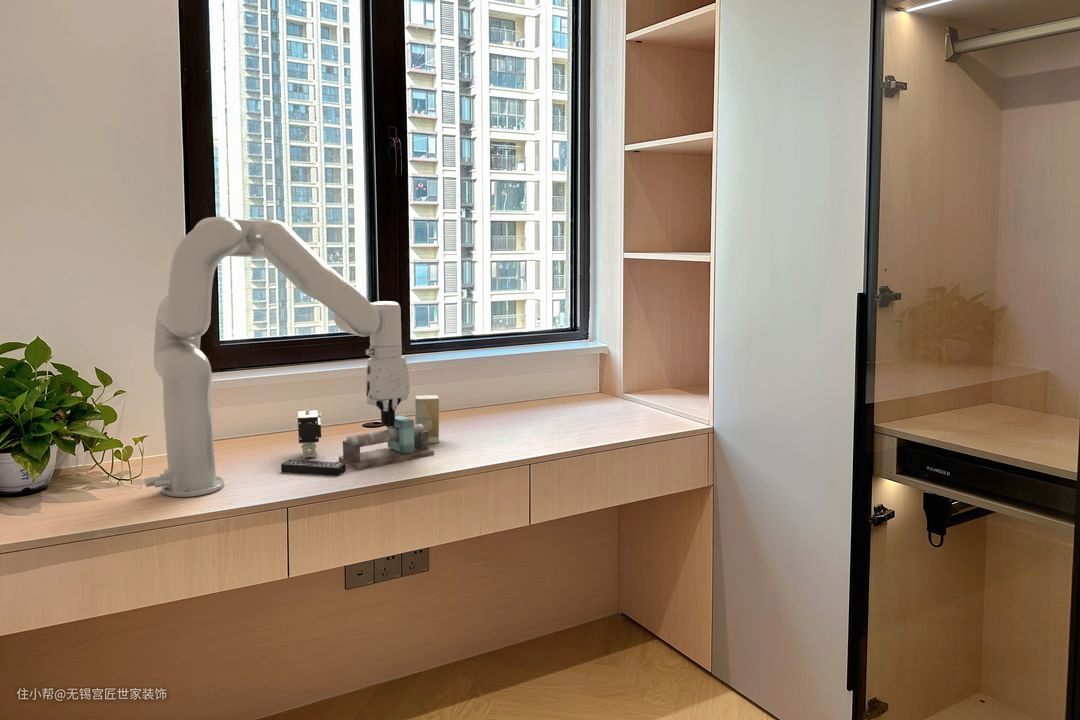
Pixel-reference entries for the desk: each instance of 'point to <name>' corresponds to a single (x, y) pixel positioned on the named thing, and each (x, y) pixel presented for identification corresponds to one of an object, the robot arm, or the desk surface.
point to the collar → (403, 434)
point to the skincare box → (428, 415)
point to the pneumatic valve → (309, 431)
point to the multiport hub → (313, 467)
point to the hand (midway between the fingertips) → (388, 425)
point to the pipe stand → (386, 454)
